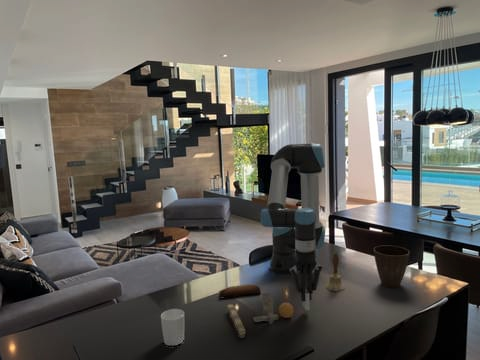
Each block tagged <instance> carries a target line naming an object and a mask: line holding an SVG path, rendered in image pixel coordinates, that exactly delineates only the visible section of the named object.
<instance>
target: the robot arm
mask: <svg viewBox="0 0 480 360" xmlns="http://www.w3.org/2000/svg"><path fill="white" fill-rule="evenodd" d="M324 157H325V156H324V150H323V146H322V144H321V143H311V142H310V143H295V144H294V143H291V144H290V143H289V144H286V145H284V146H282V147H281V148H279V149H278V150H277V151H276V152H275V153H274V155H273V156H272V159H271V161H270V169H271V177H270V185H269V193H268V199H267V204H266V206H267V207H266V208H261V211H260V224H261V226H262V227H264V228H272V230H271V231H272V233H271V238H272V256H271V259H270V262H269V269H270V271H273V272H275V273H279V274H290V273H291V276H292V280H293V282H294V283H293V285H294V287H295V291H296V292H298V294H300V300H301V301H302V305H303V306H302V308H304V309H305V311H310V307H311V304H310V301H312V299H313V298H312V294H313V293H314V292H315V291H317V287H318V283H319V278H320V277H319V276H320V273H321V271H322V269H323V266H322V265H321V264H318V263H317V261H316V259H317V258H316V251H320V250H322V249H324V245H325V238H326V236H325V235H326V227H325V226H323V223H322V221H320V185H319V184H320V174H321V173H322V172H323V170H322V169H324V168H325V167H326V166H325V165H326V163H325V158H324ZM291 169H297V173H298V174H299V175H300V192H301V193H300V199H301V204H300V205H301V207H300V208H297V209H296V208H286V202H287V201H286V200H287V191H288V190H287V189H288V180H289V172H290V171H291ZM297 272H299V278H298V274H297Z"/></svg>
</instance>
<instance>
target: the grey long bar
mask: <svg viewBox="0 0 480 360" xmlns="http://www.w3.org/2000/svg"><path fill="white" fill-rule="evenodd" d="M228 310H229V312H230V315H231V317H232V319H233V321H234V324H235V326H236V328H237V330H238V332H239V334H240V335H242V334H246V333H247V332H246V329H245V326H244V324H243V322H242V320H241V318H240V316H239V314H238V312H237V310H236V308H235V306H234V304H227V311H228ZM230 315H229V316H230ZM231 317H230V318H231ZM234 324H233V325H234ZM235 326H234V327H235Z"/></svg>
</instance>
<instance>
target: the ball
mask: <svg viewBox="0 0 480 360" xmlns="http://www.w3.org/2000/svg"><path fill="white" fill-rule="evenodd" d="M278 312H279V314H280V317H283V318H285V319H288V318H291V317H292V316H293V314H294V307H293V305H292V304H291V303H289V302H283V303H281V304H280V305H279V308H278Z"/></svg>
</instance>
